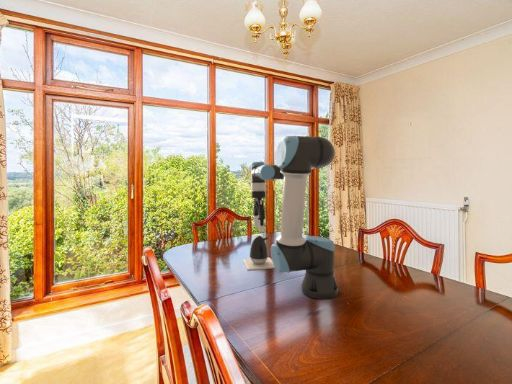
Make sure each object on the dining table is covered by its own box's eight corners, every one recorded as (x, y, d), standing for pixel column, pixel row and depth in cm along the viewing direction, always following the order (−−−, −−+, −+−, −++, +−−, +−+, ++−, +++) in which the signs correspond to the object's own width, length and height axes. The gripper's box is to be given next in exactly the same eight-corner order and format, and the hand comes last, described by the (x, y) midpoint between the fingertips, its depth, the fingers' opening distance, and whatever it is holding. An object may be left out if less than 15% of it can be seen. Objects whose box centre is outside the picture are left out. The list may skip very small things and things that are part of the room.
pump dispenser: (268, 265, 150) (268, 237, 149) (249, 265, 151) (249, 237, 150) (268, 259, 161) (268, 233, 159) (250, 259, 161) (249, 233, 160)
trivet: (276, 267, 150) (276, 266, 150) (247, 270, 147) (247, 268, 147) (269, 258, 165) (269, 257, 165) (242, 260, 162) (242, 259, 162)
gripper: (270, 191, 141) (271, 233, 143) (260, 189, 166) (260, 225, 167) (256, 192, 140) (256, 234, 141) (247, 189, 164) (248, 225, 166)
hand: (258, 229), depth 154 cm, fingers open, 13 cm apart
